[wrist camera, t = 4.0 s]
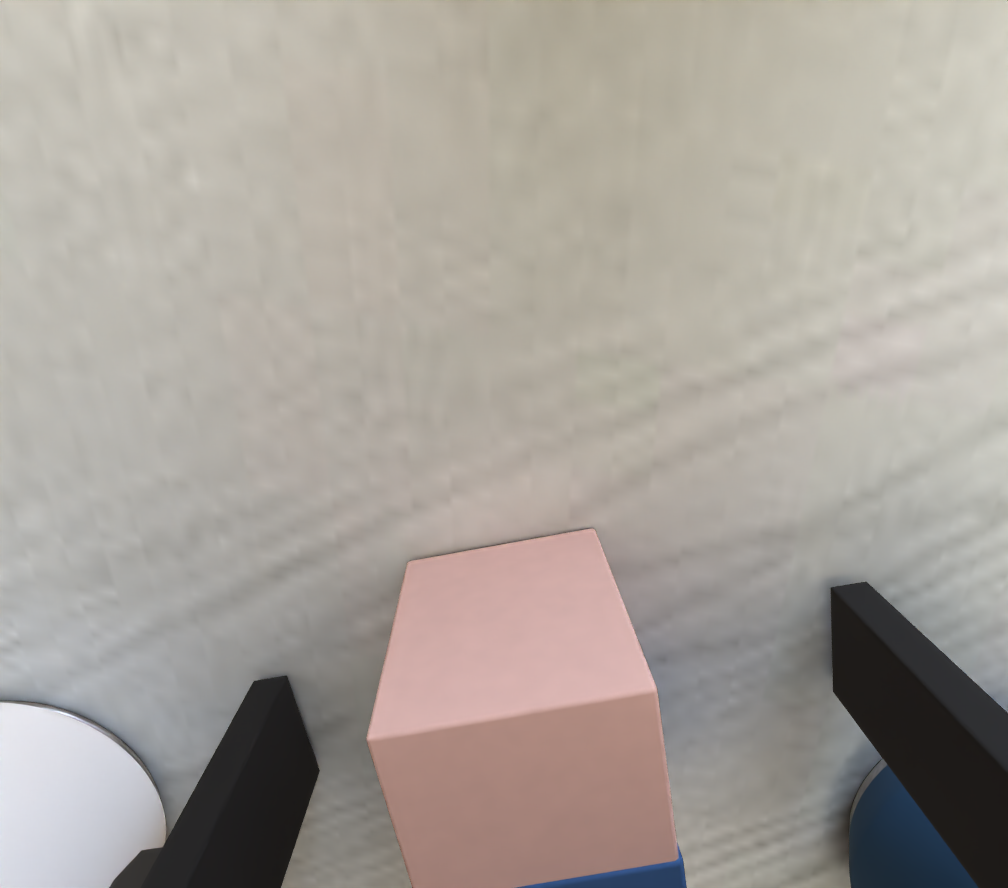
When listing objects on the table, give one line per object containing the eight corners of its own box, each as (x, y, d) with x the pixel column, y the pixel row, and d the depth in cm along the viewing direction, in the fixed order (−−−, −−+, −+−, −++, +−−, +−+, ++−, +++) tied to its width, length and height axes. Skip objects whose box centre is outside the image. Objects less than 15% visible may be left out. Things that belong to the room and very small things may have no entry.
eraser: (469, 811, 15) (463, 1072, 11) (404, 559, 13) (359, 743, 8) (635, 783, 15) (706, 1033, 11) (596, 524, 13) (662, 689, 8)
